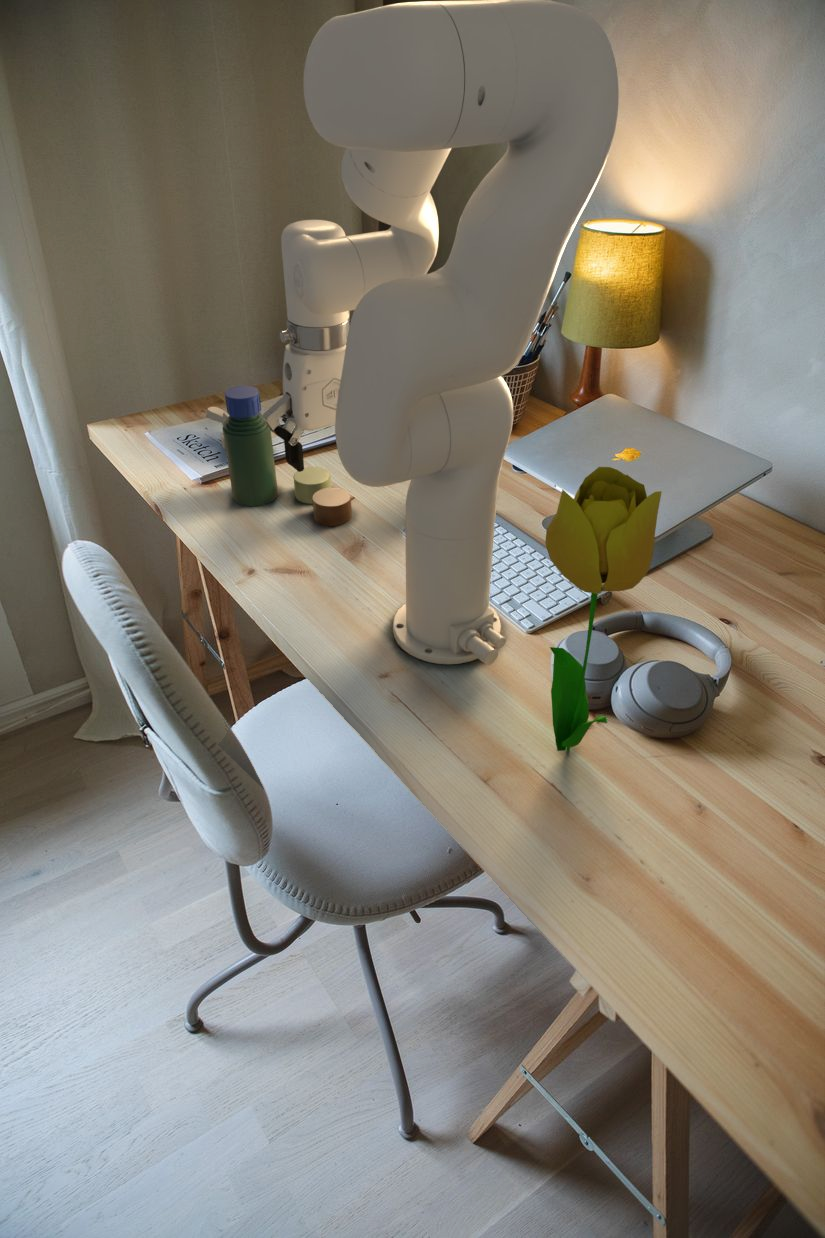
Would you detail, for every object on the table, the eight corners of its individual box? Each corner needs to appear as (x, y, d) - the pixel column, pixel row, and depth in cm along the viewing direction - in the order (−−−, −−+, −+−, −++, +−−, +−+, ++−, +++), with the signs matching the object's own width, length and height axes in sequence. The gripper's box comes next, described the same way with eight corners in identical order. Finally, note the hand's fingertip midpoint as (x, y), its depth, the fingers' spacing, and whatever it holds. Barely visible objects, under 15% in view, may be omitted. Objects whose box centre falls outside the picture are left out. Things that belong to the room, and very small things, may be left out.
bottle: (286, 497, 122) (275, 398, 112) (245, 511, 118) (231, 410, 109) (264, 480, 126) (252, 382, 116) (225, 492, 123) (209, 394, 113)
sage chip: (338, 496, 122) (337, 477, 120) (307, 507, 119) (305, 488, 117) (319, 482, 125) (318, 463, 123) (288, 492, 123) (286, 473, 121)
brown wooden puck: (359, 518, 117) (358, 498, 115) (326, 530, 114) (325, 510, 112) (338, 503, 120) (337, 483, 118) (306, 514, 118) (305, 494, 116)
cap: (267, 412, 114) (264, 393, 112) (236, 421, 111) (234, 401, 110) (251, 401, 117) (249, 382, 115) (221, 409, 114) (218, 390, 113)
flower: (627, 752, 82) (690, 484, 63) (576, 796, 77) (628, 522, 59) (558, 708, 87) (598, 447, 68) (507, 747, 82) (535, 479, 64)
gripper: (272, 357, 95) (285, 487, 106) (394, 327, 103) (394, 450, 114) (241, 337, 100) (257, 464, 110) (361, 310, 108) (364, 430, 118)
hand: (327, 457), depth 112 cm, fingers open, 9 cm apart
